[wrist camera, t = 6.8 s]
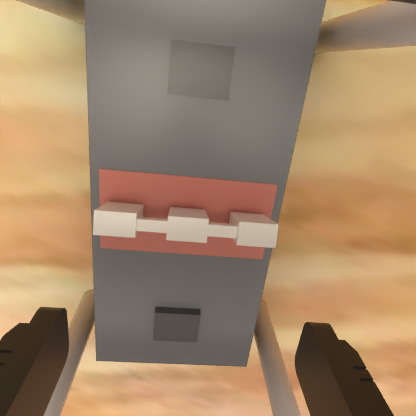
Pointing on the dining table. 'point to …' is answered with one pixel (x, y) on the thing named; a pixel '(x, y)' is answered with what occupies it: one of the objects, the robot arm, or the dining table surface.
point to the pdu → (197, 166)
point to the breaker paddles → (184, 225)
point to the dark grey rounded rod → (406, 1)
